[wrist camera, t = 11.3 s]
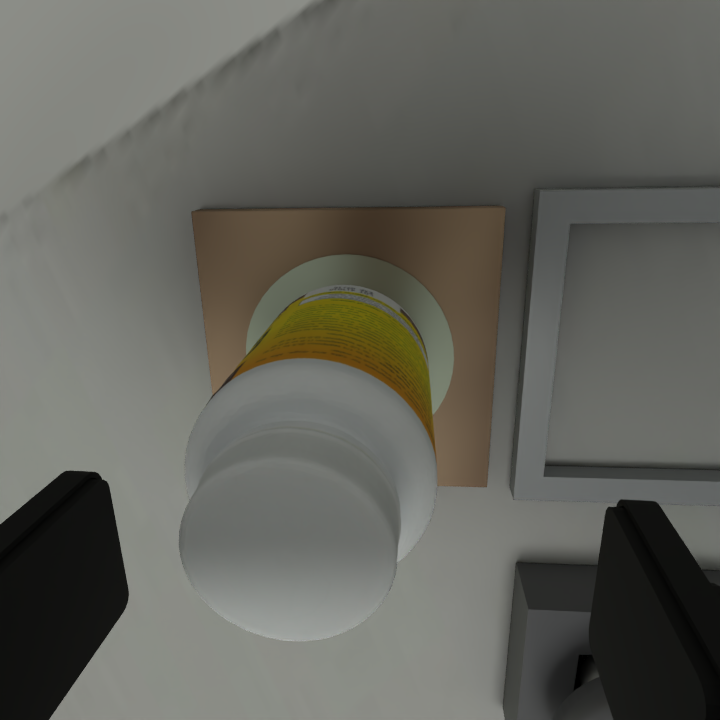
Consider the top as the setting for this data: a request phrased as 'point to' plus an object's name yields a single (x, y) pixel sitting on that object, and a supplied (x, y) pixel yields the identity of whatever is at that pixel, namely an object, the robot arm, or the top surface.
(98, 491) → the robot arm
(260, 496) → the supplement bottle
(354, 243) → the pad
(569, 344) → the top surface
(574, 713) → the dome cap
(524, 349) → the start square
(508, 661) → the dome housing
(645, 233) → the top surface
